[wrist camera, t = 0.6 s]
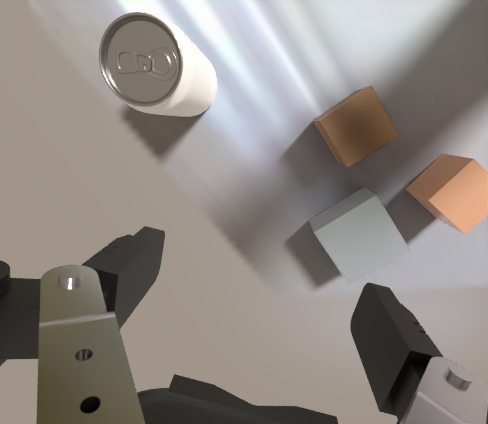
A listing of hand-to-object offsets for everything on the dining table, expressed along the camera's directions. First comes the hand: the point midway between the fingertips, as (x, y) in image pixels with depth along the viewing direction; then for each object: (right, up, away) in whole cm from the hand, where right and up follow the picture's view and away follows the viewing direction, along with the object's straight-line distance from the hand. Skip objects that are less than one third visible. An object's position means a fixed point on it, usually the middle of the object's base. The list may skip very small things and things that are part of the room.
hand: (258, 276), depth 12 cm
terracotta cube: (+20, +5, +20) cm, 29 cm away
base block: (+12, +1, +22) cm, 25 cm away
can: (-6, +16, +19) cm, 26 cm away
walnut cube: (+10, +11, +19) cm, 25 cm away
